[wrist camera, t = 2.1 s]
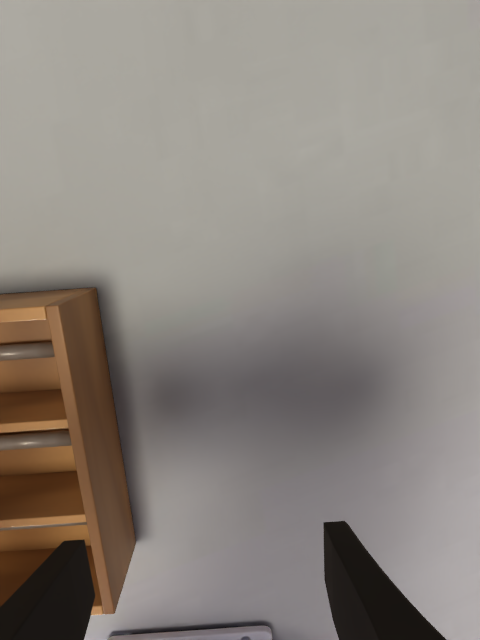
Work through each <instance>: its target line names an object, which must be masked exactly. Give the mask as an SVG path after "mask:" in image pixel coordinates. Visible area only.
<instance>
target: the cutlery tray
mask: <svg viewBox="0 0 480 640" xmlns="http://www.w3.org/2000/svg"><path fill="white" fill-rule="evenodd" d="M83 539H84V540H85V545H86V550H87V555H88V560H89V565H90V570H91V576H92V581H93V586H94V591H95V599H94V603H93V607H92V611H91V615H102V614H114V613H115V611H116V607H117V604H118V601H119V597H120V594H121V591H122V588H123V584H124V581H125V578H126V574H127V571H128V568H129V564H130V561H131V558H132V554H133V551H134V548H135V544H136V540H135V533H134V527H133V521H132V514H131V508H130V501H129V495H128V489H127V482H126V476H125V470H124V463H123V457H122V451H121V444H120V438H119V432H118V425H117V419H116V412H115V406H114V400H113V393H112V387H111V381H110V374H109V368H108V362H107V355H106V349H105V342H104V336H103V330H102V323H101V317H100V311H99V304H98V298H97V292H96V288H80V289H66V290H51V291H37V292H22V293H8V294H0V607H1V606H2V605H3V604H4V603H5V602H6V601H7V600H8V599H9V598H10V597H11V596H12V594H13V593H14V592H15V591H16V590H17V589H18V588H19V587H20V586H21V585H22V584H23V583H24V582H25V581H26V580H27V579H28V578H29V577H30V576H31V575H32V574H33V573H34V572H35V570H36V569H37V568H38V567H39V566H40V565H41V564H42V563H43V562H44V561H45V560H46V559H47V558H48V557H49V556H50V555H51V554H52V552H53V551H54V550H55V549H56V548H57V547H58V546H59V545H60V544H61V543H62V542H63V541H69V540H83Z"/></svg>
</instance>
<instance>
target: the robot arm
mask: <svg viewBox="0 0 480 640" xmlns="http://www.w3.org/2000/svg"><path fill="white" fill-rule="evenodd" d="M324 572H325V584H326V588H327V593H328V598H329V603H330V608H331V612H332V617H333V621H334V624H335V628H336V631H337V634H338V638H339V640H446V639H445V638H444V637H443V636H442V635H441V634H440V633H439V632H438V631H437V630H436V629H435V628H434V627H433V626H432V625H431V624H430V623H429V622H428V621H427V620H426V619H425V618H424V617H423V616H422V614H421V613H420V612H419V611H418V610H417V609H416V608H415V607H414V606H413V605H412V604H411V603H410V602H409V600H408V599H407V598H406V597H405V596H404V595H403V594H402V593H401V591H400V590H399V589H398V588H397V587H396V586H395V584H394V583H393V582H392V581H391V580H390V579H389V577H388V576H387V575H386V574H385V573H384V571H383V570H382V569H381V568H380V567H379V565H378V564H377V563H376V562H375V560H374V559H373V558H372V556H371V555H370V554H369V553H368V551H367V550H366V549H365V547H364V546H363V545H362V543H361V542H360V541H359V539H358V538H357V536H356V535H355V534H354V532H353V531H352V529H351V528H350V526H349V525H348V524H347V523H346V522H345V521H339V522H324ZM94 599H95V591H94V586H93V581H92V576H91V570H90V565H89V560H88V555H87V550H86V545H85V540H84V539H83V540H69V541H63V542H62V543H61V544H60V545H59V546H58V547H57V548H56V549H55V550H54V551H53V552H52V554H51V555H50V556H49V557H48V558H47V559H46V560H45V561H44V562H43V563H42V564H41V565H40V566H39V567H38V568H37V569H36V570H35V572H34V573H33V574H32V575H31V576H30V577H29V578H28V579H27V580H26V581H25V582H24V583H23V584H22V585H21V586H20V587H19V588H18V589H17V590H16V591H15V592H14V593H13V594H12V596H11V597H10V598H9V599H8V600H7V601H6V602H5V603H4V604H3V605H2V606H1V607H0V640H84V637H85V634H86V630H87V627H88V623H89V619H90V615H91V611H92V607H93V603H94ZM108 640H272V631H271V629H270V628H269V627H267V626H263V625H262V626H247V627H233V628H219V629H204V630H190V631H176V632H162V633H147V634H133V635H119V636H112V637H110V638H108Z"/></svg>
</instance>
